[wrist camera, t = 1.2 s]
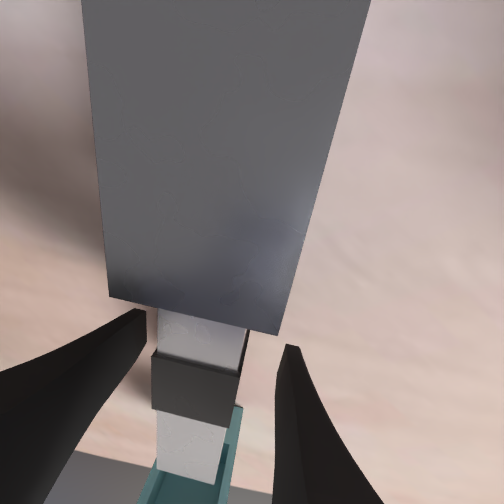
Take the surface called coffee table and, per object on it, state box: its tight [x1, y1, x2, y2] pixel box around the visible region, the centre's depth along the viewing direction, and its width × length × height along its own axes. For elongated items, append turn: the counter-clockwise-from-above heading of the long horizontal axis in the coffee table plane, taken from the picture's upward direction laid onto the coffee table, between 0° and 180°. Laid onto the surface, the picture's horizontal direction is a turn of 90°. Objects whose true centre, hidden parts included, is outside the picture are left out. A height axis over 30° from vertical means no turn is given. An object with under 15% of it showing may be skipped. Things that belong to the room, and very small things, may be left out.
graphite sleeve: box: [81, 0, 371, 336], centre depth 8 cm, size 5×10×7 cm, turn 170°
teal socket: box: [137, 406, 243, 504], centre depth 16 cm, size 5×4×7 cm
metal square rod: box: [151, 308, 250, 485], centre depth 9 cm, size 3×20×3 cm, turn 170°
